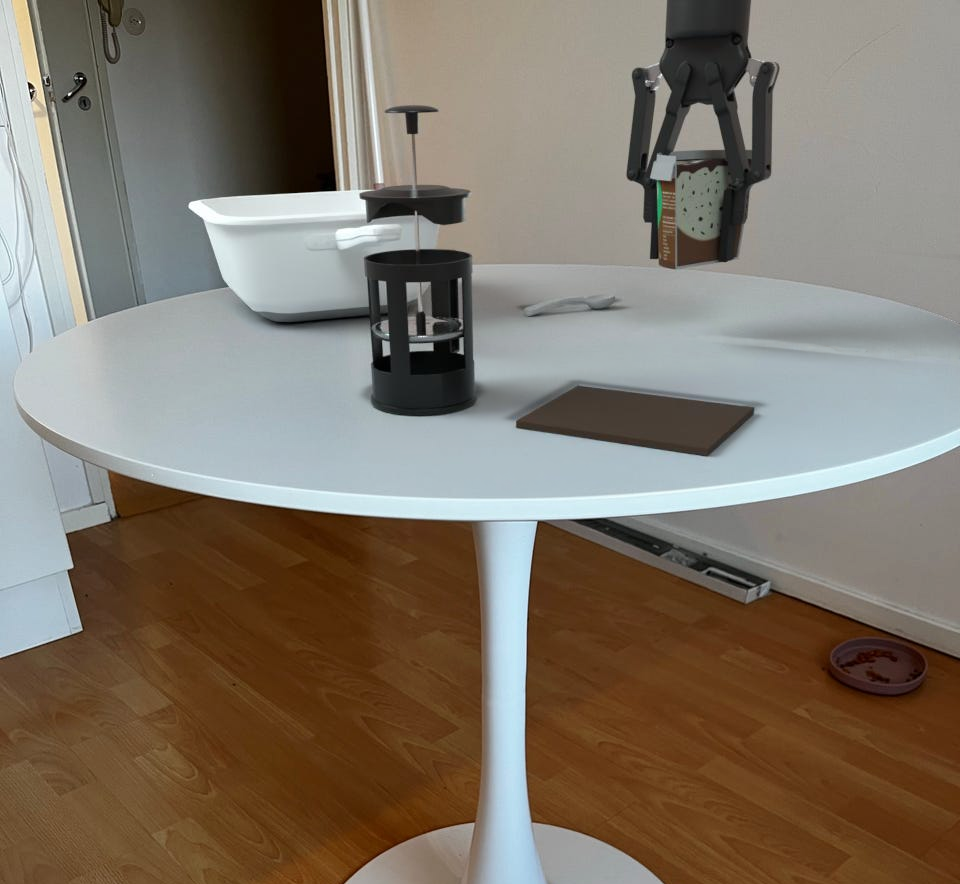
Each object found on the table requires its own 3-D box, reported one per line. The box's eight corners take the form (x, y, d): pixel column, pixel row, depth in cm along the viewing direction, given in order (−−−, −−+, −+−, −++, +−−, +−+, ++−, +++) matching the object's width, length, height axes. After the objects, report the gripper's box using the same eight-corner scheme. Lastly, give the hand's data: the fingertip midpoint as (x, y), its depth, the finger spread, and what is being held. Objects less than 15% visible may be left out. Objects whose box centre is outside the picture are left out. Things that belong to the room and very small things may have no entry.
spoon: (620, 307, 123) (620, 290, 122) (531, 324, 119) (530, 306, 118) (608, 303, 125) (608, 286, 124) (521, 319, 122) (520, 302, 121)
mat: (753, 414, 83) (754, 407, 83) (707, 456, 74) (708, 448, 74) (577, 391, 90) (577, 385, 90) (515, 427, 81) (515, 420, 81)
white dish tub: (400, 282, 143) (395, 184, 136) (525, 345, 106) (525, 216, 100) (196, 298, 134) (181, 195, 128) (256, 374, 97) (239, 234, 91)
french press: (449, 422, 83) (439, 106, 72) (348, 412, 86) (323, 107, 75) (499, 386, 92) (497, 102, 81) (406, 378, 95) (392, 104, 84)
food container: (702, 252, 108) (710, 148, 103) (748, 257, 103) (758, 149, 99) (619, 264, 101) (624, 154, 96) (664, 271, 97) (671, 156, 92)
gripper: (593, -6, 92) (588, 259, 103) (808, -24, 84) (777, 268, 95) (625, -1, 98) (616, 250, 109) (829, -17, 89) (797, 257, 100)
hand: (691, 258), depth 102 cm, fingers closed on food container, 6 cm apart
